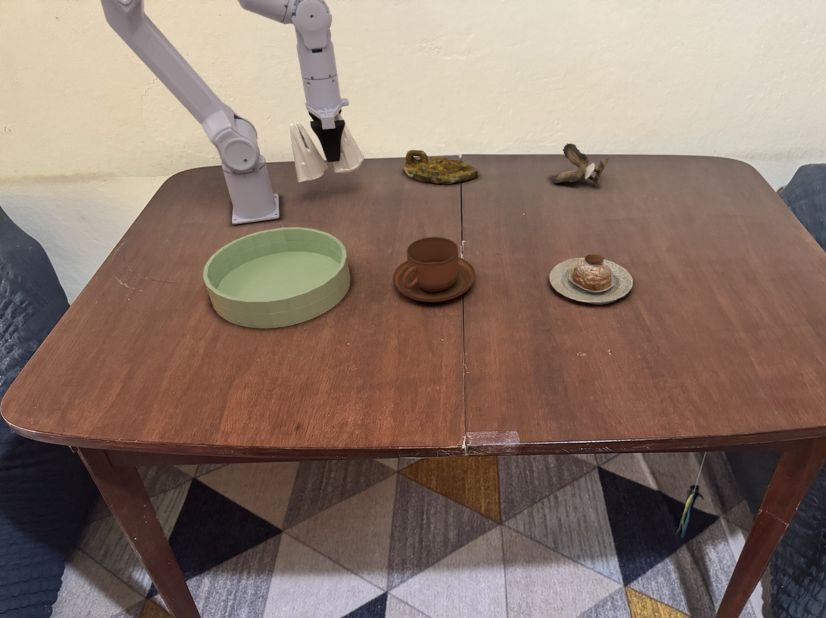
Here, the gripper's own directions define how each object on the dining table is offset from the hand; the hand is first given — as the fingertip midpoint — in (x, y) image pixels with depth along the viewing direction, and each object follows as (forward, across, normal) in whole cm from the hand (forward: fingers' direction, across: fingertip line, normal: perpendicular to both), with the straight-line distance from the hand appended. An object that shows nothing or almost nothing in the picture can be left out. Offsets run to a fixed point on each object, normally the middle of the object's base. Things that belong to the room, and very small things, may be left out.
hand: (332, 155), depth 112 cm
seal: (+8, +5, -20) cm, 22 cm away
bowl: (+8, -27, +11) cm, 30 cm away
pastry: (+8, -39, -33) cm, 52 cm away
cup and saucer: (+8, -33, -11) cm, 36 cm away
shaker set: (+4, 0, +1) cm, 4 cm away
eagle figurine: (+8, -6, -44) cm, 45 cm away
